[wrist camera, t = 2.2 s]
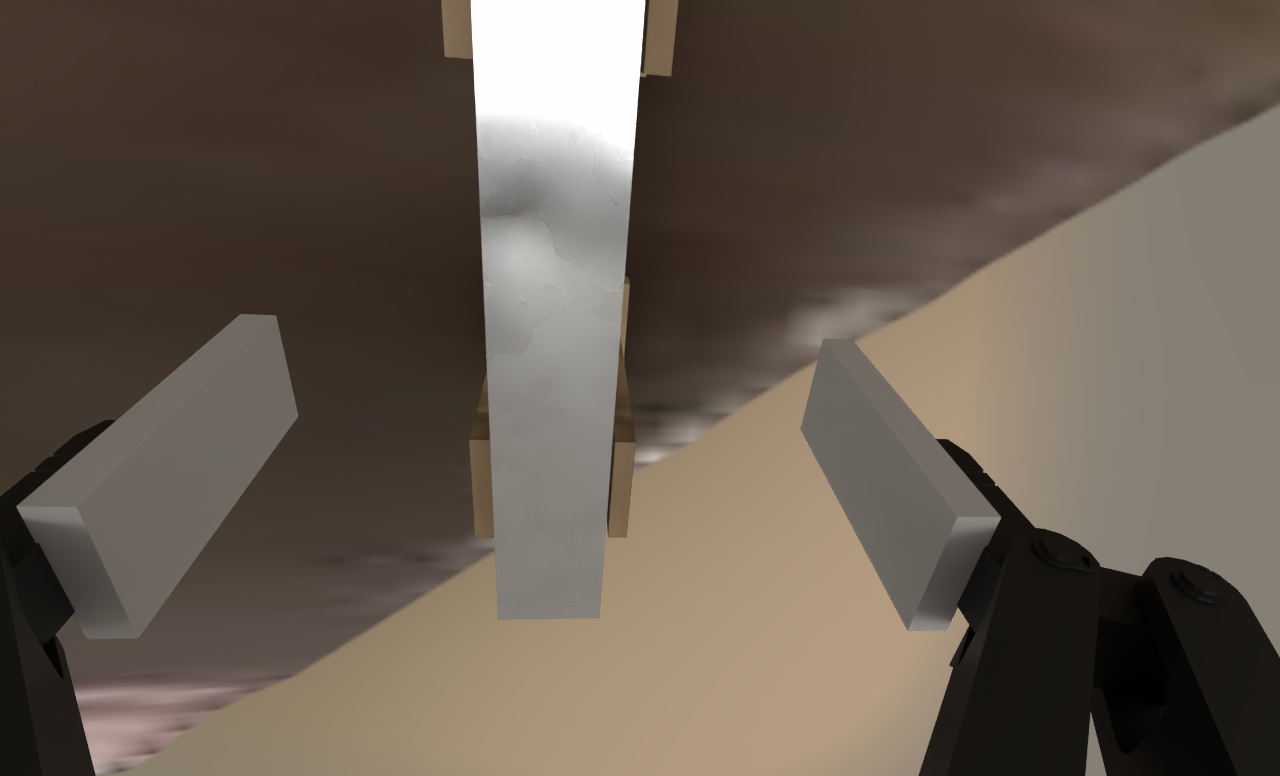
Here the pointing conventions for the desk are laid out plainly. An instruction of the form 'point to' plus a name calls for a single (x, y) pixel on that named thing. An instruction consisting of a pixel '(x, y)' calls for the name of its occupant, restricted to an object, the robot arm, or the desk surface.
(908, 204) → the desk surface
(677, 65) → the desk surface
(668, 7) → the post
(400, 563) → the desk surface
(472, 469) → the post
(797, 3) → the desk surface
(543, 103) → the rail
